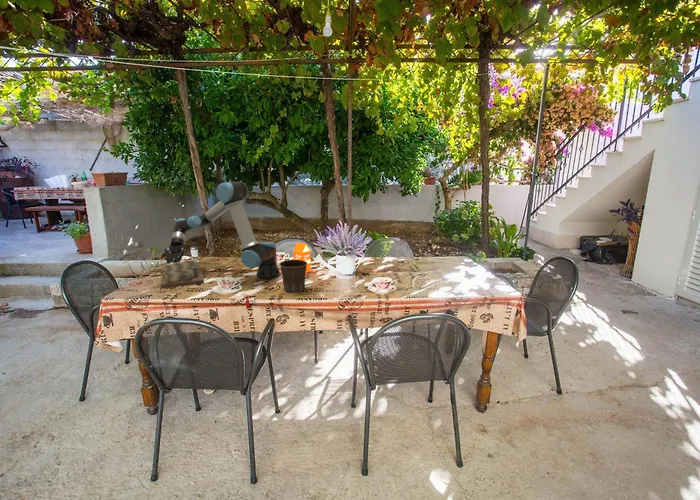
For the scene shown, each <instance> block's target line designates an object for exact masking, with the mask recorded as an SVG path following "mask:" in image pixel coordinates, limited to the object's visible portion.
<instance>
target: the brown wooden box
mask: <svg viewBox="0 0 700 500" xmlns="http://www.w3.org/2000/svg"><path fill="white" fill-rule="evenodd" d="M192 260H193V265H194V274H195V277H192V273H186V274H183V275H182V276H183V279H182V280H178V281H173V282H169V283H167V282H166V279H165V272H162V277H161V281H160V289H168V288H176V287H184V286H192V285H193V286H194V285H200V284H205V281H204V275H203V274H204V273H203V268H198V260H197V257H195V258H194V257H193V258H192Z"/></svg>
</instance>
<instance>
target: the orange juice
mask: <svg viewBox="0 0 700 500" xmlns="http://www.w3.org/2000/svg"><path fill="white" fill-rule="evenodd" d="M292 251H293V260H303V261H306V262H307V266H306V272H305V274H307V273H308V272H311V271H312V270H311V269H312V267H311V263H312V262H311V259H312V258H311V250H310V248H309V246H308V245H307V243H303V242H296V245H295V247H294V250H292Z"/></svg>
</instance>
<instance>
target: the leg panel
mask: <svg viewBox="0 0 700 500" xmlns="http://www.w3.org/2000/svg"><path fill="white" fill-rule="evenodd" d="M163 269H164V273H165V279H166V282H167V283H169V282H173V281H178V280H182V279H183V276H182V275H183V274H186V273H192V277H195V274H194V265H193V259H188V260H182V261H180V262H176V263H171V264H169V263H166V264H163Z"/></svg>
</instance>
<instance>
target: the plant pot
mask: <svg viewBox="0 0 700 500" xmlns="http://www.w3.org/2000/svg"><path fill="white" fill-rule="evenodd" d="M306 266H307V262H306V261H303V260H294V259H289V260H283V261H280V263H279V268H280V271H281V276H282V283H283V290H284V291H285V292H287V293H299V292H301V291H304V290H305V285H306V284H305V282H306V273H307V272H306ZM305 272H306V273H305Z"/></svg>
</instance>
